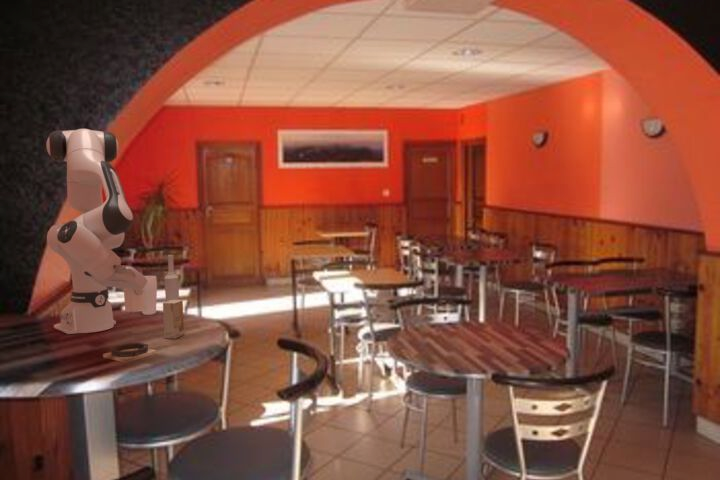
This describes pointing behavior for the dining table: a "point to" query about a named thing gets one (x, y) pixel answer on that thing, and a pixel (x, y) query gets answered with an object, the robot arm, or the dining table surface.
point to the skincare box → (173, 319)
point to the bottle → (171, 282)
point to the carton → (133, 300)
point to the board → (128, 359)
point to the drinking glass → (150, 295)
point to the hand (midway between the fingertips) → (135, 292)
